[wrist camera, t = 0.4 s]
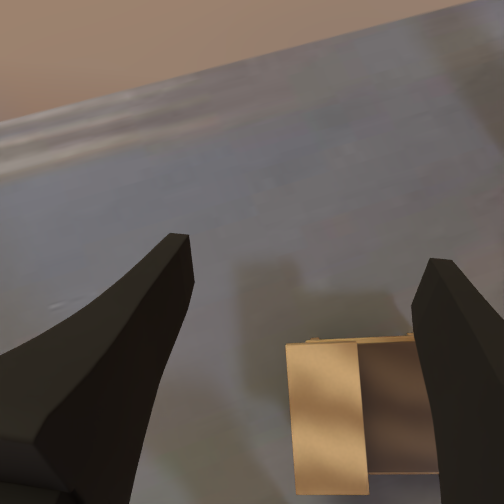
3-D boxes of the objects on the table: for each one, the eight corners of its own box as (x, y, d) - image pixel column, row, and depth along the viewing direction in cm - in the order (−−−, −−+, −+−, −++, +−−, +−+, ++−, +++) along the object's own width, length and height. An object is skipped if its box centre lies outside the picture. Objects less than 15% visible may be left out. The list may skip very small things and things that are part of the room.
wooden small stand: (430, 458, 39) (455, 495, 32) (297, 459, 40) (296, 495, 34) (418, 327, 40) (440, 338, 33) (288, 334, 41) (285, 345, 35)
